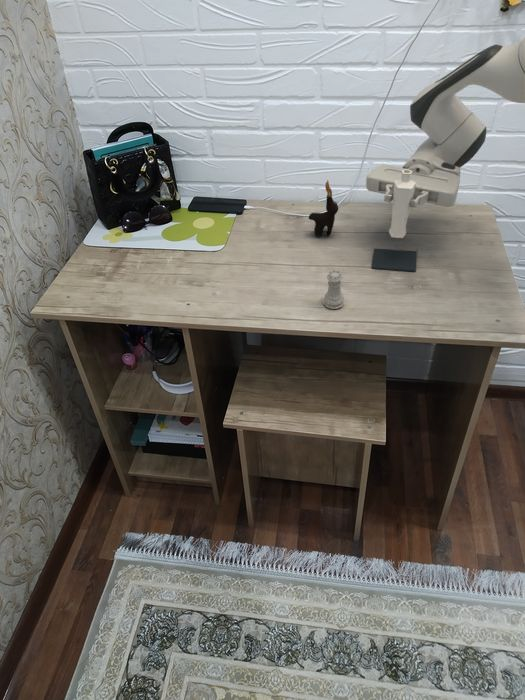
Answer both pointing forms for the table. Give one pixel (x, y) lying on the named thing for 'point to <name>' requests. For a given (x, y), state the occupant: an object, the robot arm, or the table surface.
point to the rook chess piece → (334, 291)
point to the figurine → (325, 215)
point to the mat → (394, 260)
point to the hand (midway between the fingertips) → (400, 201)
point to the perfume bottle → (401, 204)
